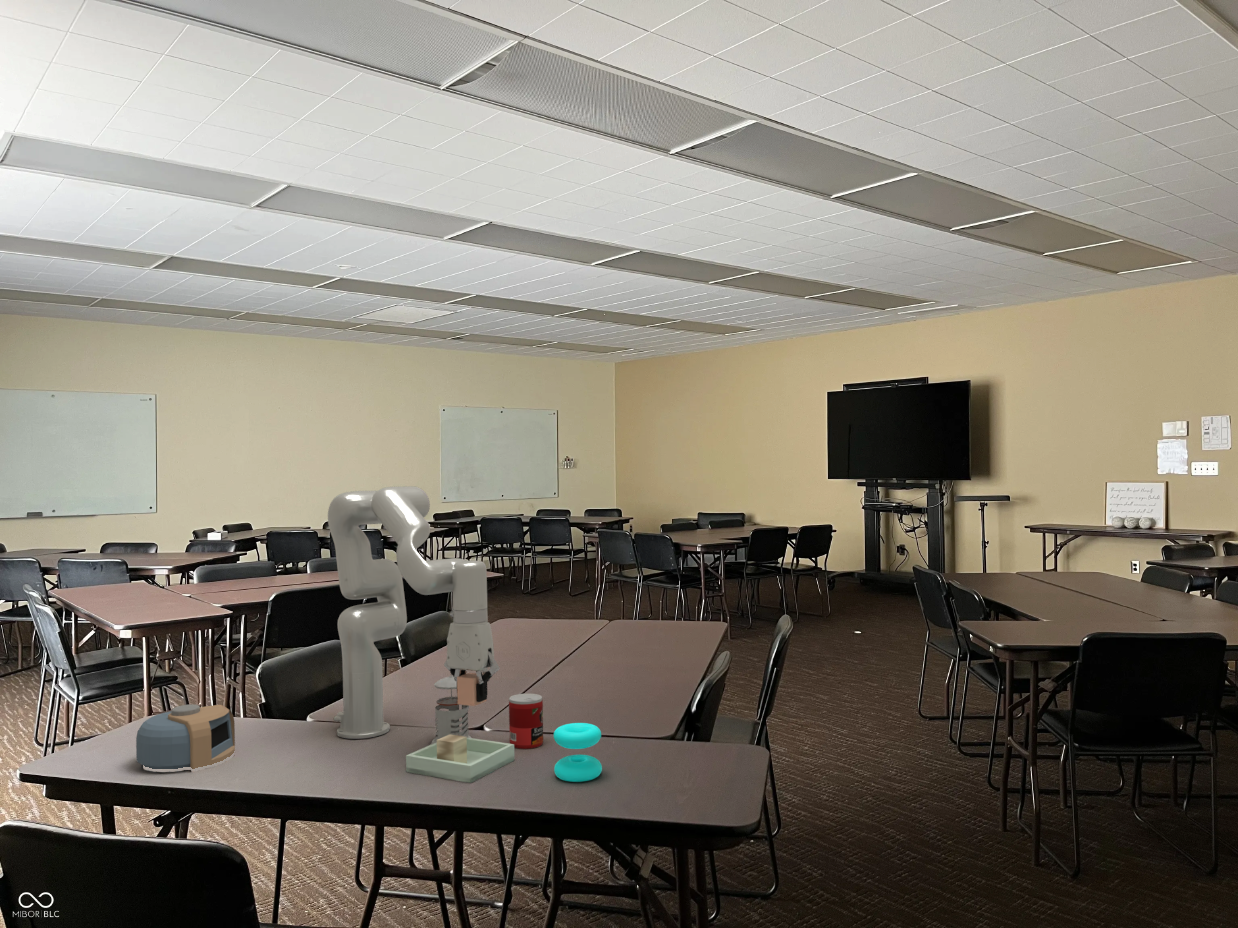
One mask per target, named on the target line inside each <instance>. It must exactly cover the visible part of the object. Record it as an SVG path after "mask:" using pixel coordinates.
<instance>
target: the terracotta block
mask: <svg viewBox="0 0 1238 928" xmlns="http://www.w3.org/2000/svg"><path fill="white" fill-rule="evenodd" d="M476 684H478V679H477V674H476V672H475V673H474V672H467V673H466V674H464V675H461V676H458V677H457V689H456V696H457V695H458V704H460V705H461V706H462V705H468V706H469V707H476V706H478V705H481V704H483V703H486V702H487V701H488V698H487V699H486V700H484V701H481V702H477V701H476ZM460 705H459V706H460Z"/></svg>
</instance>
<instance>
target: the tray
mask: <svg viewBox="0 0 1238 928" xmlns="http://www.w3.org/2000/svg"><path fill="white" fill-rule="evenodd" d="M513 761H515V748H514V744H510V743H509V742H508V743H507V742H501V741H493V740H486V739H482V738H481V739H479V738H473V737H472V738H467V763H460V762H454V761H448V760H442V759H437V742H436V743H434V744H432V743H431V744H430V745H427V746H425V747H423V748H419V749H418V750H416V751H413V752H411V753H409V754H407V755H405V769H406V770H405V771H406V773H409V774H410V773H411V774H416V775H422V776H427V777H433V778H438V779H445V780H451V781H455V782H462V783H468V784H471V783H474V782H476V781H478V780H479V779H481V778H483V777H485V776H487V775H490V774H491V773H493V772H495V771H497V770H499V769H501V768H502V767H504V766H506V765H508V764H510V763H512V762H513Z"/></svg>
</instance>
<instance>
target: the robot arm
mask: <svg viewBox="0 0 1238 928" xmlns="http://www.w3.org/2000/svg"><path fill="white" fill-rule="evenodd" d="M430 507H431V503H430V498H429V496H428V494H427V493H426V491H424V490H423V489H422V488H420V487H418V486H413V485H409V486H407V485H405V486H386V487H382V488H380V489H379V490H378V489H377V490H353V491H346V492H342V493H340V494H338V495H336V496H335V497H334V498H333V499H332V500H331V502H330V504H329V506H328V509H327V524H328V528H329V530H330V535H331V537H332V540H333V543H334V544H333V545H334V549H335V558H336V565H337V566H336V567H337V574H338V575H337V576H338V583H339V589H340V592H341V594H342V596H343V597H344V598H345V599H347V600H363V599H371V598H376V599H377V601H376V602H369V603H364V604H357V605H353V606H350V607H348V608H346V609H344V610H343V611H342V612H341V613H340V614H339V617H338V619H337V631H338V632H337V633H338V636H339V643H340V645H341V646H340V647H341V658H342V659H341V660H342V661H341V662H342V695H343V696H342V697H343V698H342V700H343V701H342V702H343V703H342V704H343V708H342V709H343V711H339V712H337V714H336V715H335V716H334V717H333V721H334V722H340V726H339V727H338V728H337V729H336V734H337V736H338V737H340V738H342V739H348V740H358V739H359V740H360V739H369V738H376V737H379V736H382V735H384V734H387V733H389V731H390V727H391V725H390V724H389V723H388V722H386V721H384V695H383V694H384V690H383V688H384V687H383V685H384V684H383V682H384V681H383V659H382V655H381V653H380V651H379V650H378V648H377V647H376V645H375V644H374V643H375V642H379V641H383V640H388V639H393V638H396V637H399V636H400V635H402V634H403V633H404V632H405V630H406V627H407V624H408V623H407V621H408V616H407V615H408V614H407V606H406V599H405V591H404V581H403V579H404V580H405V581H406V583H408V585H409V586H410V587H411V589H413V590H414V591H415V592H417V593H419V595H424V596H428V595H429V596H430V595H438V594H442V593H451V592H452V610H451V611H449V616H450V617H452V619H453V620H452V621H453V622H450V624H449V628H448V634H447V638H448V641H447V640H446V643H447V644H446V660H445V662H444V664H443V665H444V667H445V668H446V669H447V670H448V671H449V673H450V675H451V674H452V676H453V677H454V681H456V682H457V677H458V676H461V675H464V674H467V673H468V672H467V671H474V672H475V673H476V674H477V679H478V684H476V701H477V702H481V701H484V700H486V699H487V700H488V682H489V681H490V679H491V678H492V677H493V676H494V675H495V674H496V673H497V672H498V671H500V668H501V667H500V666H499V664H498V662H497V660H496V658H495V650H494V649H495V648H494V637H493V632H492V627H491V624H490V622H488V621H489V620H488V618H489V617H488V581H487V580H488V579H487V578H488V577H487V576H488V575H487V574H488V573H487V565H486V564H485V562H484V561H481V560H466V559H463V558H460V557H459V558H457V557H456V558H455V557H453V558H452V557H450V558H445V559H444V558H441V559H431V560H426V559H424V558H423V556H421V554H420V553H419V552H418V550H417V549H418V548H419V547H420V546H422V545H423V544H424V543H425V542H426V541H427V539H428V538H429V536H430V533H431V527H430V523H429V522H428V520H427V519H425V517H427V516H428V514H429V512H430ZM378 524H379V525H382V526H383V527H384V528H385V530H386V531H387V532H388V534H390V536H391V537H392V539H394V541H395V543H396V544H397V547H396V552H395V553H396V554H395V557H396V563H395V562H394V561H393V560H391V559H388V558H378V559H373V556H372V555H373V554H372V549H371V548H372V547H371V542H370V540H369V538H368V536H367V535H366V533H365V532H364V531H363V530H362V529H361V527H359V526H361V525H362V526H364V525H378ZM488 668H489V669H488ZM456 696H457V699H458V695H457V694H456Z"/></svg>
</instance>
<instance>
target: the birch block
mask: <svg viewBox="0 0 1238 928" xmlns="http://www.w3.org/2000/svg"><path fill="white" fill-rule="evenodd" d="M437 759H442V760H448V761H454V762H460V763H467V737H465V736H458V735H451V734H450V735H447V736H445V737H443V738H440V739H438V740H437Z"/></svg>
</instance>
